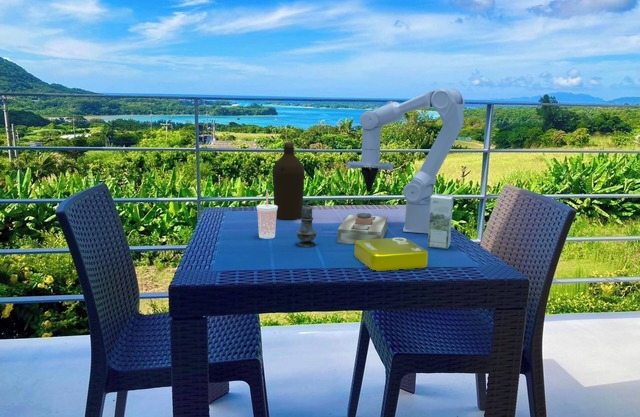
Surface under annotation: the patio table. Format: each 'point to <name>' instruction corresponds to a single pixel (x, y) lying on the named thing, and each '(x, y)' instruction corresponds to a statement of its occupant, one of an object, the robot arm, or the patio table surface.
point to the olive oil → (288, 185)
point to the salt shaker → (306, 228)
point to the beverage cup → (267, 219)
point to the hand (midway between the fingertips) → (369, 191)
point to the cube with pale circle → (360, 227)
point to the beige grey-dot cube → (364, 219)
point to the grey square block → (351, 235)
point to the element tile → (390, 254)
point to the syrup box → (440, 221)
